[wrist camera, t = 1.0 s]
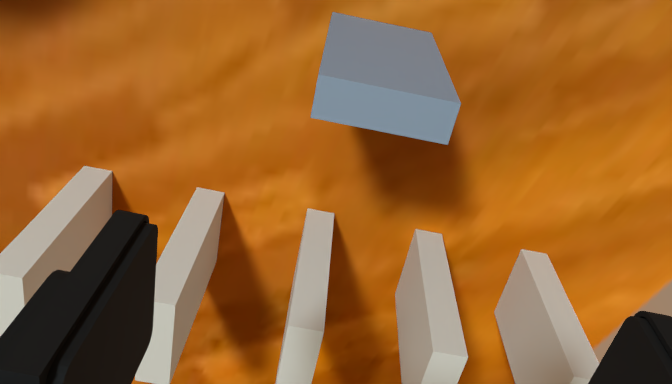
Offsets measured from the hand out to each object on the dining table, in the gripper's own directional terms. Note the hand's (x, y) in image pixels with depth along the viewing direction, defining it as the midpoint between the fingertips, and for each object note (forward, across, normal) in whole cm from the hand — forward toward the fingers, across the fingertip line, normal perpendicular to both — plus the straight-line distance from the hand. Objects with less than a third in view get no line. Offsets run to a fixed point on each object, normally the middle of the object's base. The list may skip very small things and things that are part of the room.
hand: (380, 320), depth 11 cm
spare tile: (+20, 0, 0) cm, 20 cm away
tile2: (+20, -6, +13) cm, 25 cm away
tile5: (+20, +14, +13) cm, 27 cm away
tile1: (+20, -12, +13) cm, 27 cm away
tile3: (+20, +1, +13) cm, 24 cm away
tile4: (+20, +8, +13) cm, 25 cm away
